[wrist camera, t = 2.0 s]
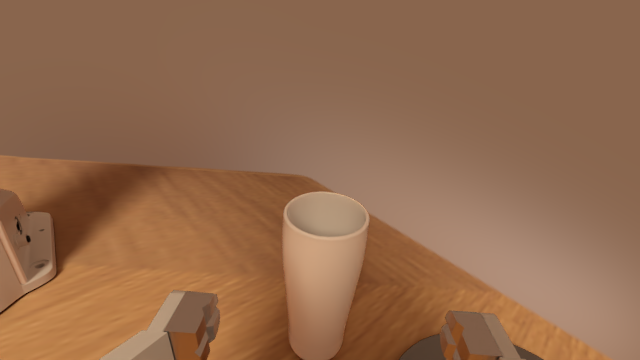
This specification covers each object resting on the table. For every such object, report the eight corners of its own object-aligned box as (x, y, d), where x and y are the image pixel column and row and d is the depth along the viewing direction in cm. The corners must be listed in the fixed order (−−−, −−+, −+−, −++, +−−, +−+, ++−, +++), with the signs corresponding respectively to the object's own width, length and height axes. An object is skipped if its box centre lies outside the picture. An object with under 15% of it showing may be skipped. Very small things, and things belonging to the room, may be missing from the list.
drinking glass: (327, 302, 34) (339, 184, 28) (363, 353, 29) (389, 224, 22) (270, 325, 31) (268, 199, 24) (299, 388, 26) (307, 250, 19)
